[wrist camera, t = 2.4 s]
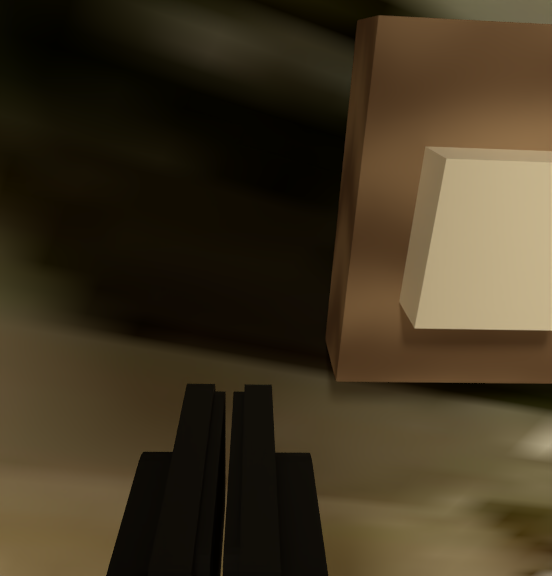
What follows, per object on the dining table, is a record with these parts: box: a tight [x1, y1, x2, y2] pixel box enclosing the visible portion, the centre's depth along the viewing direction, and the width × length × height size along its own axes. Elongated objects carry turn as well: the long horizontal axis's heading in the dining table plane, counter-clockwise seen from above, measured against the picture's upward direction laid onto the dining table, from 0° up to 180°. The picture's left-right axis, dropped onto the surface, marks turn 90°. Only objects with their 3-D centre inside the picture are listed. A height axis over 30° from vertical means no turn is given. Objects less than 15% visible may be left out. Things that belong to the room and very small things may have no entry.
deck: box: [325, 15, 552, 383], centre depth 24 cm, size 16×16×4 cm
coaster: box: [399, 146, 552, 331], centre depth 21 cm, size 7×7×2 cm
